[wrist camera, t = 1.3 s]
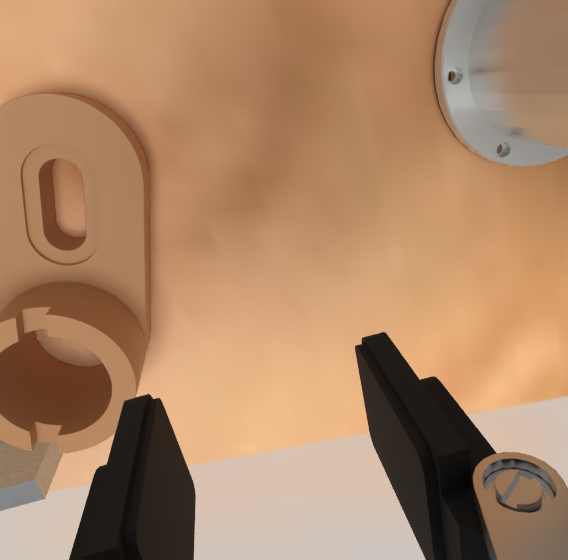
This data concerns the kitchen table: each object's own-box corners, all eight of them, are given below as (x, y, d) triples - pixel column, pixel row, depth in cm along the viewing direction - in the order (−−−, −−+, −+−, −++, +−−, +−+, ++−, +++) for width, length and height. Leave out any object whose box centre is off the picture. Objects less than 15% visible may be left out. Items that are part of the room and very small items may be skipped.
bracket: (151, 380, 33) (137, 450, 26) (20, 380, 31) (-28, 455, 25) (148, 101, 26) (129, 105, 20) (-17, 85, 25) (-95, 85, 18)
